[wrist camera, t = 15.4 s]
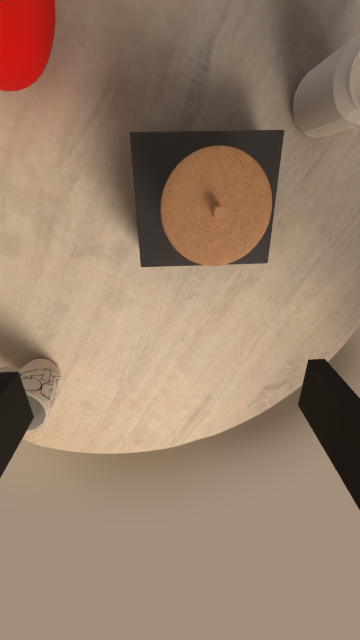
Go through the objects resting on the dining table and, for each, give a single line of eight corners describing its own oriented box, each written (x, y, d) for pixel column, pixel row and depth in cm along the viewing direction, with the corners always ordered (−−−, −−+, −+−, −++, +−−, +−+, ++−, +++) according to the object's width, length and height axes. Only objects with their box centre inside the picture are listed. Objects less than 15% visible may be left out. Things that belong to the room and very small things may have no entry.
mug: (0, 378, 52) (-35, 419, 43) (5, 341, 48) (-32, 378, 39) (62, 394, 54) (41, 436, 45) (71, 360, 51) (51, 398, 42)
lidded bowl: (150, 232, 35) (145, 249, 26) (179, 136, 30) (184, 119, 22) (228, 261, 37) (246, 285, 28) (266, 174, 32) (301, 172, 24)
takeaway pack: (264, 138, 37) (284, 129, 30) (253, 251, 43) (267, 263, 37) (136, 140, 36) (129, 132, 30) (144, 254, 43) (141, 267, 36)
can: (361, 92, 35) (448, 52, 24) (319, 151, 38) (380, 139, 27) (318, 49, 33) (392, -14, 22) (277, 115, 36) (325, 87, 25)
